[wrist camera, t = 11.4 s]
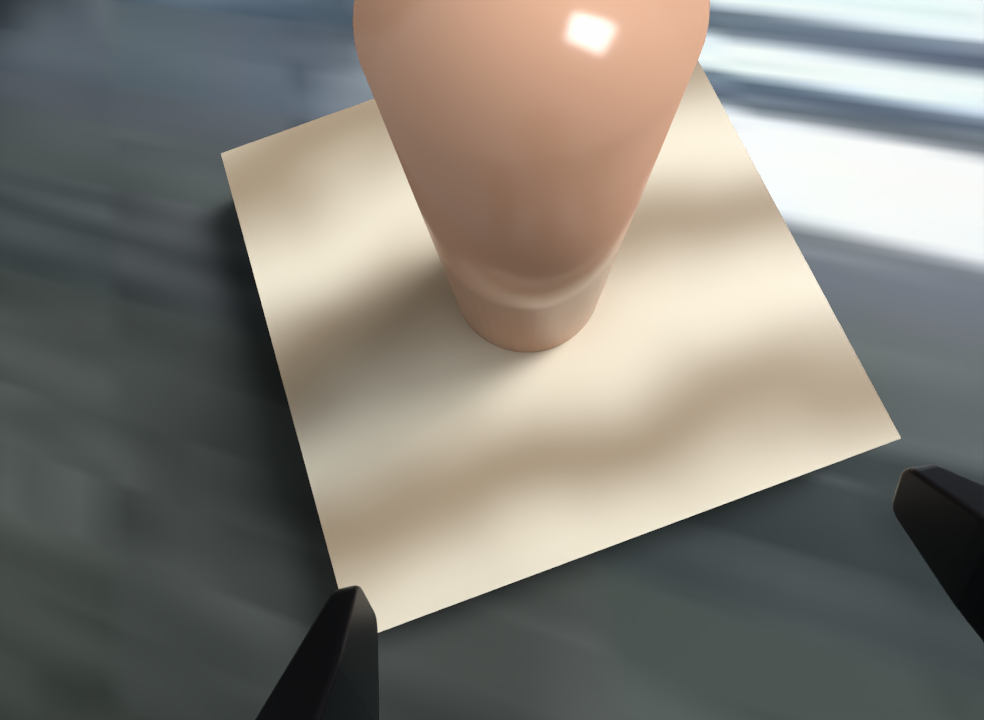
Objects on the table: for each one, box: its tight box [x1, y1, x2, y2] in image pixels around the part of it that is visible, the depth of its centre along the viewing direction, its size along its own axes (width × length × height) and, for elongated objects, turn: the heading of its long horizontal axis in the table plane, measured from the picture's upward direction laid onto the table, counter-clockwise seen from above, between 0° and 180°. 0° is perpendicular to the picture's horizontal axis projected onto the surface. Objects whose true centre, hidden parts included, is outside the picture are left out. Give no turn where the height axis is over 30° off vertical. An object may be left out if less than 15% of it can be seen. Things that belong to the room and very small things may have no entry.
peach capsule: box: [353, 0, 710, 353], centre depth 13 cm, size 5×5×11 cm
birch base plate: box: [221, 61, 901, 633], centre depth 19 cm, size 18×18×2 cm
